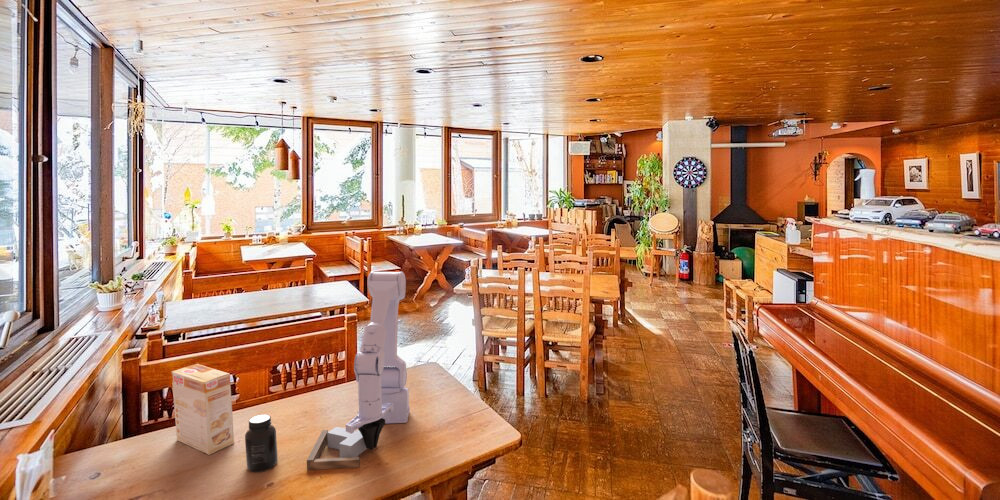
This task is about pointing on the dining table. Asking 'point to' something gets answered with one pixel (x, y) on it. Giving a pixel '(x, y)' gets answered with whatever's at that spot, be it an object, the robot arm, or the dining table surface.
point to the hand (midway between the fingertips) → (371, 447)
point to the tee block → (346, 442)
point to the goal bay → (328, 463)
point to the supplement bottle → (261, 444)
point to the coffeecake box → (203, 408)
